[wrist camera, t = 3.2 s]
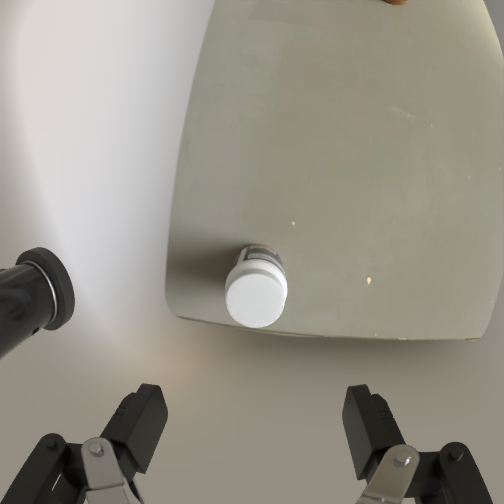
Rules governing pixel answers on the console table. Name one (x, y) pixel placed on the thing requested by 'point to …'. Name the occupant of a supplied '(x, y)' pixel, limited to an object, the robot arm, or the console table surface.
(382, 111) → the console table surface
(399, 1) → the wooden spoon
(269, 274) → the pill bottle
